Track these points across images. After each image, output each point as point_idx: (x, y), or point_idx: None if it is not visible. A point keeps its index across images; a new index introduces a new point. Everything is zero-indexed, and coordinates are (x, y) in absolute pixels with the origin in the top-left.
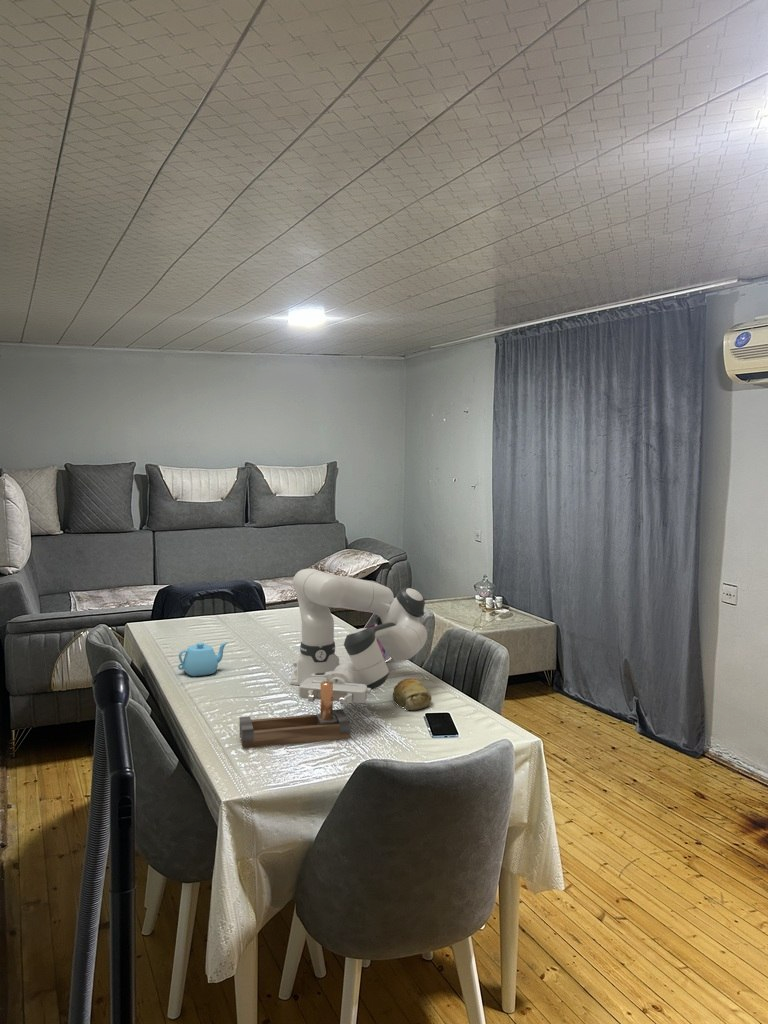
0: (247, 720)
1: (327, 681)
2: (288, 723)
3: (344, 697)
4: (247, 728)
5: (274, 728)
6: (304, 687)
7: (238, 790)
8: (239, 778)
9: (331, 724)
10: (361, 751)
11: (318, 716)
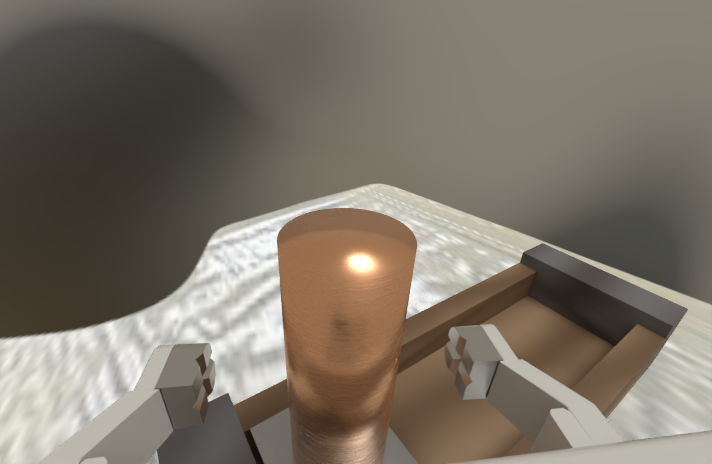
0: (624, 294)
1: (365, 268)
2: None
3: (159, 367)
4: (543, 252)
5: None
6: (704, 432)
7: (381, 194)
8: (407, 210)
9: (283, 403)
10: (133, 361)
11: (397, 449)
